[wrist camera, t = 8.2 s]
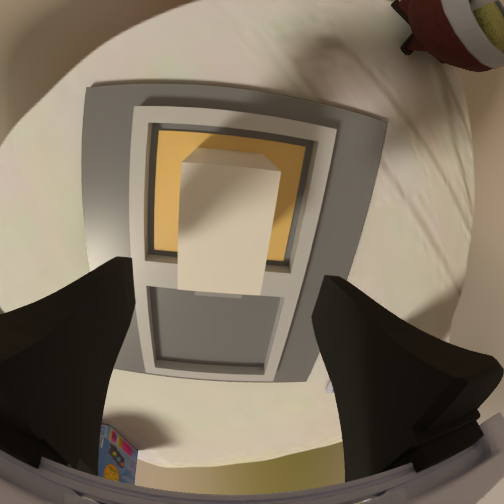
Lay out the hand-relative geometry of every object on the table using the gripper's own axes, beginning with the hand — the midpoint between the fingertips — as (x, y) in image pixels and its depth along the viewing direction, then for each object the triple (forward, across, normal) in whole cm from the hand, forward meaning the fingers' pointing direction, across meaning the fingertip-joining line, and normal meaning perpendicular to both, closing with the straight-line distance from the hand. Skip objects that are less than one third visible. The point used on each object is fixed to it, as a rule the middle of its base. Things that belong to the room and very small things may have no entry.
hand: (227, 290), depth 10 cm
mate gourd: (+10, -12, -16) cm, 22 cm away
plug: (+9, 0, -1) cm, 9 cm away
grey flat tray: (+9, 0, +4) cm, 10 cm away
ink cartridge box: (+10, +15, +38) cm, 42 cm away
